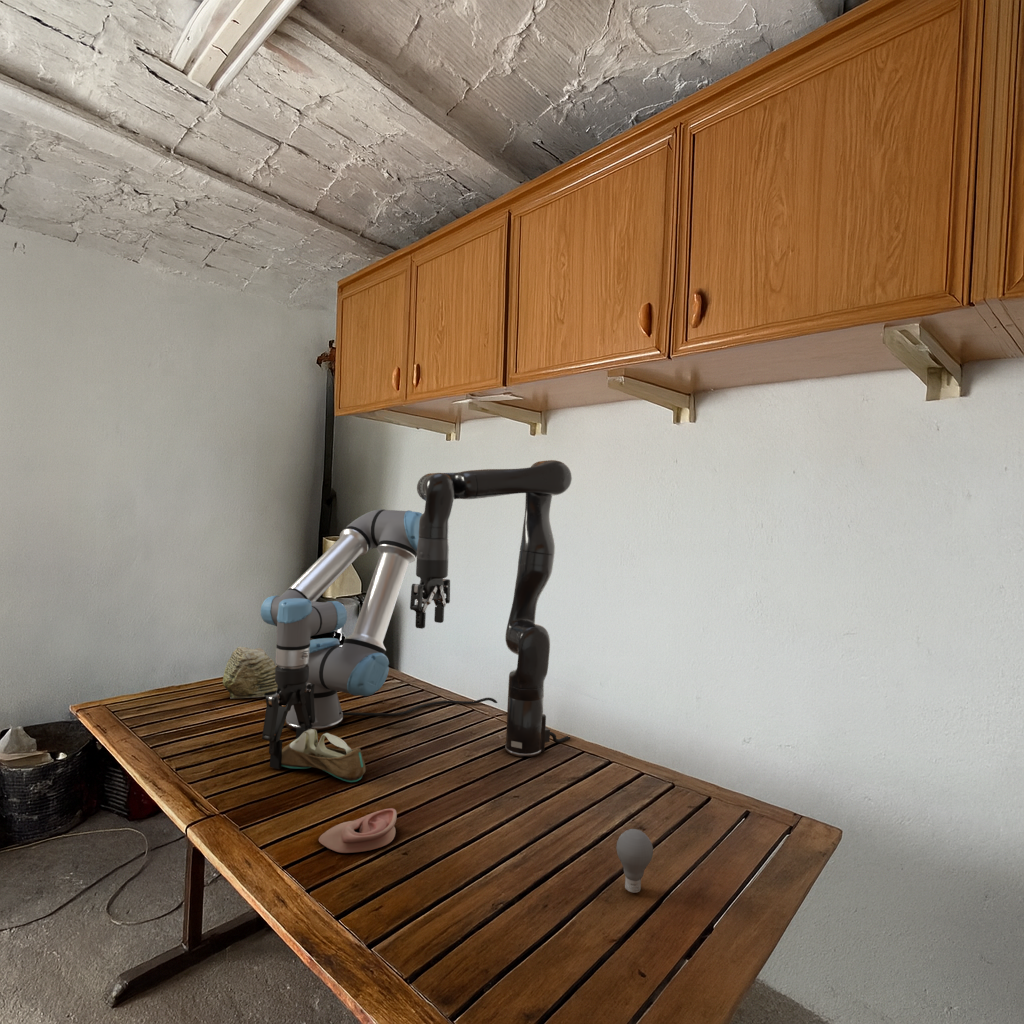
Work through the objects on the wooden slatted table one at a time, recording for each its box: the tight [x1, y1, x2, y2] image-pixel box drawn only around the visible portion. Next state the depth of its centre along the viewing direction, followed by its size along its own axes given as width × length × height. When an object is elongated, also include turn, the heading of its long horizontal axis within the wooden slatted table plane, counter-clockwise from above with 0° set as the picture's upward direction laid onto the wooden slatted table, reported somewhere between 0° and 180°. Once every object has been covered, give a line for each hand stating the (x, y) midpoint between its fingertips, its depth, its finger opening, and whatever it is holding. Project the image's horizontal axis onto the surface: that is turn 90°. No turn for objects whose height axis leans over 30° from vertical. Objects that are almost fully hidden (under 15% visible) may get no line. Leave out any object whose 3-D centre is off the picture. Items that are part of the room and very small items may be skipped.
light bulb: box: [615, 828, 654, 894], centre depth 106 cm, size 6×6×10 cm
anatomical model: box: [318, 807, 398, 854], centre depth 118 cm, size 13×4×12 cm
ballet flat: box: [281, 729, 367, 783], centre depth 146 cm, size 8×24×9 cm, turn 66°
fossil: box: [222, 646, 278, 699], centre depth 198 cm, size 9×18×15 cm, turn 132°
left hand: (288, 761), depth 150 cm, fingers closed on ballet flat, 7 cm apart
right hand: (429, 625), depth 150 cm, fingers open, 8 cm apart
